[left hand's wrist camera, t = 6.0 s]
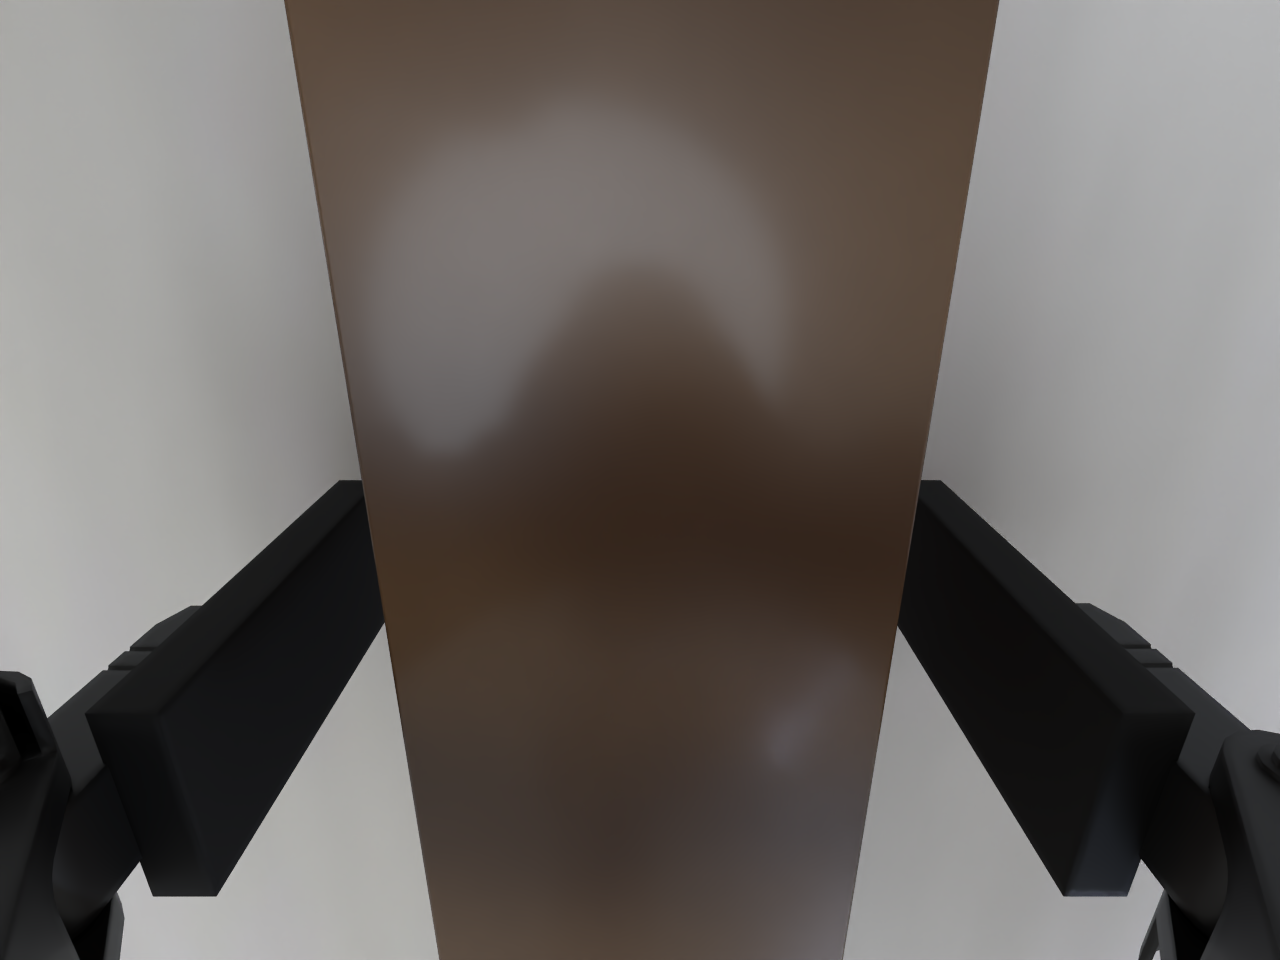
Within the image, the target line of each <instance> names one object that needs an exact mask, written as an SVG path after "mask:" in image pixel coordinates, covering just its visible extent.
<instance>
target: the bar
mask: <svg viewBox="0 0 1280 960" xmlns="http://www.w3.org/2000/svg"><path fill="white" fill-rule="evenodd" d="M284 2H285V8H286V14H287V20H288V27H289V33H290V39H291V45H292V51H293V58H294V64H295V70H296V76H297V82H298V88H299V95H300V101H301V107H302V113H303V119H304V126H305V132H306V138H307V144H308V150H309V156H310V163H311V169H312V175H313V181H314V187H315V194H316V200H317V206H318V212H319V218H320V224H321V231H322V237H323V243H324V249H325V255H326V262H327V268H328V274H329V280H330V286H331V292H332V299H333V305H334V311H335V317H336V323H337V330H338V336H339V342H340V348H341V354H342V360H343V367H344V373H345V379H346V385H347V391H348V398H349V404H350V410H351V416H352V422H353V428H354V435H355V441H356V447H357V453H358V459H359V466H360V472H361V478H362V484H363V490H364V496H365V503H366V509H367V515H368V521H369V527H370V534H371V540H372V546H373V552H374V558H375V564H376V571H377V577H378V583H379V589H380V595H381V602H382V608H383V614H384V620H385V626H386V632H387V639H388V645H389V651H390V657H391V663H392V670H393V676H394V682H395V688H396V694H397V700H398V707H399V713H400V719H401V725H402V731H403V738H404V744H405V750H406V756H407V762H408V768H409V775H410V781H411V787H412V793H413V799H414V806H415V812H416V818H417V824H418V830H419V836H420V843H421V849H422V855H423V861H424V867H425V874H426V880H427V886H428V892H429V898H430V904H431V911H432V917H433V923H434V929H435V935H436V942H437V948H438V954H439V960H843V954H844V948H845V942H846V936H847V930H848V924H849V917H850V911H851V905H852V899H853V893H854V887H855V881H856V875H857V868H858V862H859V856H860V850H861V844H862V838H863V832H864V826H865V820H866V813H867V807H868V801H869V795H870V789H871V783H872V777H873V771H874V764H875V758H876V752H877V746H878V740H879V734H880V728H881V722H882V715H883V709H884V703H885V697H886V691H887V685H888V679H889V673H890V666H891V660H892V654H893V648H894V642H895V636H896V630H897V624H898V618H899V611H900V605H901V599H902V593H903V587H904V581H905V575H906V569H907V562H908V556H909V550H910V544H911V538H912V532H913V526H914V520H915V513H916V507H917V501H918V495H919V489H920V483H921V477H922V471H923V464H924V458H925V452H926V446H927V440H928V434H929V428H930V422H931V416H932V409H933V403H934V397H935V391H936V385H937V379H938V373H939V367H940V360H941V354H942V348H943V342H944V336H945V330H946V324H947V318H948V311H949V305H950V299H951V293H952V287H953V281H954V275H955V269H956V262H957V256H958V250H959V244H960V238H961V232H962V226H963V220H964V213H965V207H966V201H967V195H968V189H969V183H970V177H971V171H972V165H973V158H974V152H975V146H976V140H977V134H978V128H979V122H980V116H981V109H982V103H983V97H984V91H985V85H986V79H987V73H988V67H989V60H990V54H991V48H992V42H993V36H994V30H995V24H996V18H997V11H998V5H999V0H284Z"/></svg>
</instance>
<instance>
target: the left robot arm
mask: <svg viewBox="0 0 1280 960" xmlns="http://www.w3.org/2000/svg"><path fill="white" fill-rule="evenodd" d="M384 622H385V620H384V614H383V608H382V602H381V595H380V589H379V583H378V577H377V571H376V564H375V558H374V552H373V546H372V540H371V534H370V527H369V521H368V515H367V509H366V503H365V496H364V490H363V484H362V480H339V481H338V482H337V483H336V484H335V485H334V486H333V487H332V488H330V489H329V490H328V491H327V492H326V493H325V494H324V495H323V496H322V497H321V498H319V499H318V500H317V501H316V502H315V503H314V504H313V505H312V506H311V507H310V508H309V509H307V510H306V511H305V512H304V513H303V514H302V515H301V516H300V517H299V518H298V519H297V520H295V521H294V522H293V523H292V524H291V525H290V526H289V527H288V528H287V529H286V530H284V531H283V532H282V533H281V534H280V535H279V536H278V537H277V538H276V539H275V540H274V541H272V542H271V543H270V544H269V545H268V546H267V547H266V548H265V549H264V550H263V551H262V552H260V553H259V554H258V555H257V556H256V557H255V558H254V559H253V560H252V561H251V562H249V563H248V564H247V565H246V566H245V567H244V568H243V569H242V570H241V571H240V572H239V573H237V574H236V575H235V576H234V577H233V578H232V579H231V580H230V581H229V582H228V583H227V584H225V585H224V586H223V587H222V588H221V589H220V590H219V591H218V592H217V593H216V594H214V595H213V596H212V597H211V598H210V599H209V600H208V601H207V602H206V603H205V604H204V605H202V606H190V607H188V608H186V609H184V610H182V611H180V612H178V613H177V614H175V615H173V616H171V617H169V618H167V619H165V620H164V621H162V622H160V623H158V624H156V625H155V626H154V627H152V628H151V629H150V630H149V631H148V632H147V633H146V634H144V635H143V636H142V637H141V638H140V639H139V640H137V641H136V642H135V643H134V644H133V645H132V646H131V647H130V651H125V652H124V653H122V654H121V655H120V656H119V657H118V658H117V659H116V660H114V661H113V662H112V663H111V664H110V665H109V668H108V670H103V671H102V672H100V673H99V674H98V675H97V676H96V677H95V678H94V679H92V680H91V681H90V682H89V683H88V684H87V685H85V686H84V687H83V688H82V689H81V690H80V691H79V692H77V693H76V694H75V695H74V696H73V697H72V698H70V699H69V700H68V701H67V702H66V703H65V704H64V705H62V706H61V707H60V708H59V709H58V710H57V711H55V712H54V713H53V714H52V715H51V716H50V717H48V718H47V717H46V714H45V712H44V709H43V707H42V704H41V702H40V699H39V697H38V694H37V692H36V689H35V687H34V684H33V682H32V679H31V678H30V677H28V676H26V675H24V674H22V673H20V672H12V671H0V960H120V952H121V943H122V935H123V926H124V913H123V908H122V903H121V901H120V898H119V896H118V893H117V890H118V889H119V888H120V887H121V885H122V884H123V883H124V881H125V880H126V879H127V877H128V876H129V875H130V873H131V872H132V871H133V869H134V868H135V867H136V866H137V864H138V863H139V862H140V863H141V866H142V868H143V871H144V874H145V876H146V879H147V882H148V884H149V887H150V890H151V892H152V895H153V896H217V895H218V893H219V891H220V890H221V888H222V887H223V885H224V883H225V882H226V880H227V878H228V877H229V875H230V873H231V872H232V870H233V869H234V867H235V865H236V864H237V862H238V860H239V859H240V857H241V856H242V854H243V852H244V851H245V849H246V847H247V846H248V844H249V842H250V841H251V839H252V838H253V836H254V834H255V833H256V831H257V829H258V828H259V826H260V825H261V823H262V821H263V820H264V818H265V816H266V815H267V813H268V811H269V810H270V808H271V807H272V805H273V803H274V802H275V800H276V798H277V797H278V795H279V794H280V792H281V790H282V789H283V787H284V785H285V784H286V782H287V781H288V779H289V777H290V776H291V774H292V772H293V771H294V769H295V767H296V766H297V764H298V763H299V761H300V759H301V758H302V756H303V754H304V753H305V751H306V750H307V748H308V746H309V745H310V743H311V741H312V740H313V738H314V736H315V735H316V733H317V732H318V730H319V728H320V727H321V725H322V723H323V722H324V720H325V719H326V717H327V715H328V714H329V712H330V710H331V709H332V707H333V705H334V704H335V702H336V701H337V699H338V697H339V696H340V694H341V692H342V691H343V689H344V688H345V686H346V684H347V683H348V681H349V679H350V678H351V676H352V674H353V673H354V671H355V670H356V668H357V666H358V665H359V663H360V661H361V660H362V658H363V657H364V655H365V653H366V652H367V650H368V648H369V647H370V645H371V643H372V642H373V640H374V639H375V637H376V635H377V634H378V632H379V630H380V629H381V627H382V626H383V624H384ZM897 626H898V627H899V629H900V630H901V632H902V634H903V635H904V637H905V639H906V640H907V642H908V644H909V645H910V647H911V648H912V650H913V652H914V653H915V655H916V657H917V658H918V660H919V661H920V663H921V665H922V666H923V668H924V670H925V671H926V673H927V675H928V676H929V678H930V679H931V681H932V683H933V684H934V686H935V688H936V689H937V691H938V692H939V694H940V696H941V697H942V699H943V701H944V702H945V704H946V705H947V707H948V709H949V710H950V712H951V714H952V715H953V717H954V719H955V720H956V722H957V723H958V725H959V727H960V728H961V730H962V732H963V733H964V735H965V736H966V738H967V740H968V741H969V743H970V745H971V746H972V748H973V750H974V751H975V753H976V754H977V756H978V758H979V759H980V761H981V763H982V764H983V766H984V767H985V769H986V771H987V772H988V774H989V776H990V777H991V779H992V781H993V782H994V784H995V785H996V787H997V789H998V790H999V792H1000V794H1001V795H1002V797H1003V798H1004V800H1005V802H1006V803H1007V805H1008V807H1009V808H1010V810H1011V812H1012V813H1013V815H1014V816H1015V818H1016V820H1017V821H1018V823H1019V825H1020V826H1021V828H1022V829H1023V831H1024V833H1025V834H1026V836H1027V838H1028V839H1029V841H1030V843H1031V844H1032V846H1033V847H1034V849H1035V851H1036V852H1037V854H1038V856H1039V857H1040V859H1041V860H1042V862H1043V864H1044V865H1045V867H1046V869H1047V870H1048V872H1049V874H1050V875H1051V877H1052V878H1053V880H1054V882H1055V883H1056V885H1057V887H1058V888H1059V890H1060V891H1061V893H1062V895H1063V896H1127V895H1128V892H1129V890H1130V887H1131V884H1132V882H1133V879H1134V876H1135V874H1136V871H1137V868H1138V866H1139V863H1140V860H1141V859H1142V860H1143V862H1144V863H1145V864H1146V866H1147V867H1148V868H1149V870H1150V871H1151V872H1152V873H1153V875H1154V876H1155V877H1156V879H1157V880H1158V881H1159V883H1160V884H1161V885H1162V887H1163V888H1164V891H1163V893H1162V896H1161V898H1160V901H1159V903H1158V906H1157V908H1156V911H1155V913H1154V916H1153V918H1152V921H1151V923H1150V926H1149V928H1148V931H1147V933H1146V936H1145V938H1144V941H1143V943H1142V946H1141V949H1140V954H1139V959H1138V960H1152V959H1153V957H1154V954H1155V952H1156V951H1158V950H1160V958H1161V960H1280V734H1278V733H1272V732H1267V731H1262V730H1250V729H1249V728H1247V727H1246V726H1245V725H1244V724H1243V723H1242V722H1240V721H1239V720H1238V719H1237V718H1236V717H1235V716H1233V715H1232V714H1231V713H1230V712H1229V711H1228V710H1226V709H1225V708H1224V707H1223V706H1222V705H1221V704H1219V703H1218V702H1217V701H1216V700H1215V699H1214V698H1213V697H1211V696H1210V695H1209V694H1208V693H1207V692H1206V691H1204V690H1203V689H1202V688H1201V687H1200V686H1199V685H1197V684H1196V683H1195V682H1194V681H1193V680H1192V679H1190V678H1189V677H1188V676H1187V675H1186V674H1185V673H1183V672H1182V671H1181V670H1180V669H1179V668H1173V666H1172V662H1171V661H1169V660H1168V659H1167V658H1166V657H1165V656H1164V655H1162V654H1161V653H1160V652H1159V651H1158V650H1157V649H1151V644H1150V643H1148V642H1147V641H1146V640H1145V639H1144V638H1143V637H1142V636H1140V635H1139V634H1138V633H1137V632H1136V631H1135V630H1133V629H1132V628H1131V627H1130V626H1129V625H1128V624H1126V623H1125V622H1123V621H1122V620H1120V619H1118V618H1116V617H1114V616H1112V615H1110V614H1109V613H1107V612H1105V611H1103V610H1101V609H1099V608H1097V607H1095V606H1094V605H1092V604H1090V603H1074V602H1073V601H1072V600H1071V599H1070V598H1069V597H1068V596H1067V595H1066V594H1064V593H1063V592H1062V591H1061V590H1060V589H1059V588H1058V587H1057V586H1056V585H1055V584H1053V583H1052V582H1051V581H1050V580H1049V579H1048V578H1047V577H1046V576H1045V575H1044V574H1043V573H1041V572H1040V571H1039V570H1038V569H1037V568H1036V567H1035V566H1034V565H1033V564H1032V563H1031V562H1029V561H1028V560H1027V559H1026V558H1025V557H1024V556H1023V555H1022V554H1021V553H1020V552H1018V551H1017V550H1016V549H1015V548H1014V547H1013V546H1012V545H1011V544H1010V543H1009V542H1008V541H1006V540H1005V539H1004V538H1003V537H1002V536H1001V535H1000V534H999V533H998V532H997V531H995V530H994V529H993V528H992V527H991V526H990V525H989V524H988V523H987V522H986V521H985V520H983V519H982V518H981V517H980V516H979V515H978V514H977V513H976V512H975V511H974V510H973V509H971V508H970V507H969V506H968V505H967V504H966V503H965V502H964V501H963V500H962V499H960V498H959V497H958V496H957V495H956V494H955V493H954V492H953V491H952V490H951V489H950V488H948V487H947V486H946V485H945V484H944V483H943V482H942V481H941V480H921V483H920V489H919V495H918V501H917V507H916V513H915V520H914V526H913V532H912V538H911V544H910V550H909V556H908V562H907V569H906V575H905V581H904V587H903V593H902V599H901V605H900V611H899V618H898V624H897Z"/></svg>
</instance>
